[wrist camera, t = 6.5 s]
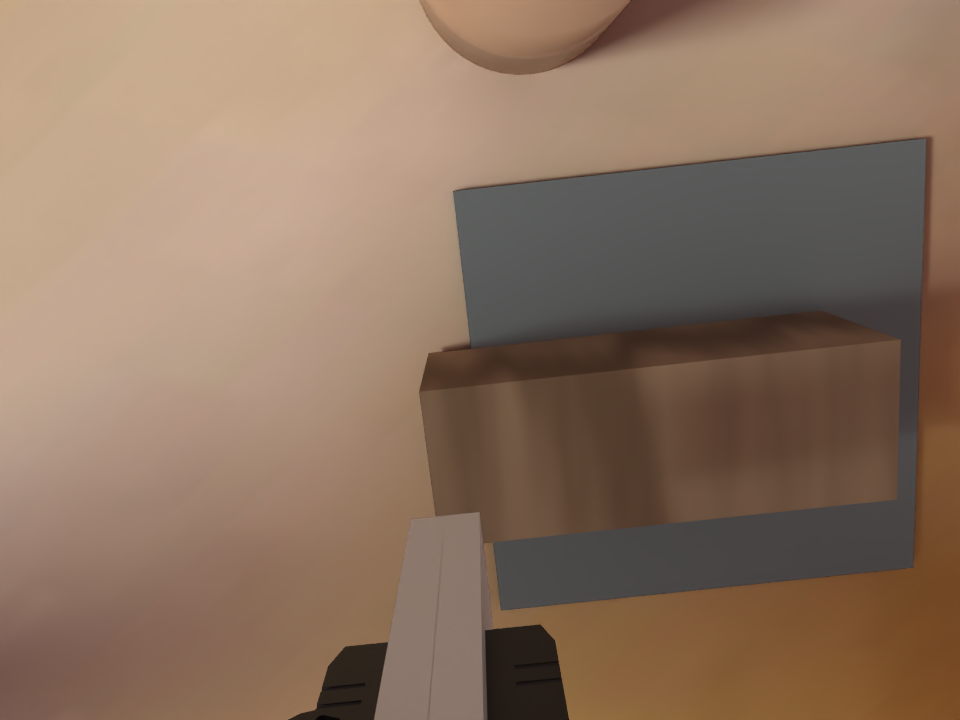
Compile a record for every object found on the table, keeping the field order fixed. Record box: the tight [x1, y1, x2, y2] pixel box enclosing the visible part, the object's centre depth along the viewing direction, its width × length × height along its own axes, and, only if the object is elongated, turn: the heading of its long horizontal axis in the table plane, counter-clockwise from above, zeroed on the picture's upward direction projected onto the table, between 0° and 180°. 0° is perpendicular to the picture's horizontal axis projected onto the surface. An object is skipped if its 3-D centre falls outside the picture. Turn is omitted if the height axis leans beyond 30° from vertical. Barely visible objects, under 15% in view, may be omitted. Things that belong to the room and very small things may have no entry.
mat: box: [453, 138, 926, 610], centre depth 27 cm, size 16×16×1 cm
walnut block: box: [419, 310, 901, 543], centre depth 25 cm, size 5×5×14 cm
